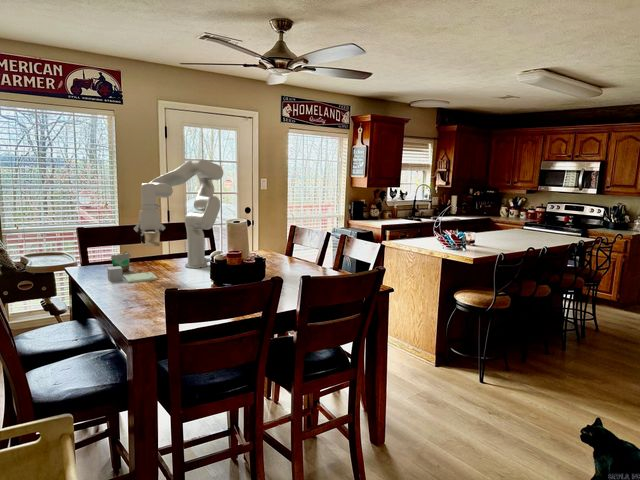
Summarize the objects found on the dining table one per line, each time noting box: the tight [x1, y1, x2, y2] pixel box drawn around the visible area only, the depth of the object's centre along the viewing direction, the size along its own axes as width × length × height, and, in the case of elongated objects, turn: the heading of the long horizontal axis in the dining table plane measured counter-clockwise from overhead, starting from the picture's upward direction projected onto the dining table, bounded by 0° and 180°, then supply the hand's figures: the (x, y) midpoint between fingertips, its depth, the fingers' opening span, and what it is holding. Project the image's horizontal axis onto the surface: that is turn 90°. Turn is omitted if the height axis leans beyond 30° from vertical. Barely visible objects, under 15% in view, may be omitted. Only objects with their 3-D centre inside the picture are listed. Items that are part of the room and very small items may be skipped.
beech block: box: [140, 231, 161, 248], centre depth 225 cm, size 6×12×6 cm, turn 35°
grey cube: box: [106, 266, 124, 282], centre depth 223 cm, size 6×6×6 cm
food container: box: [110, 250, 131, 273], centre depth 240 cm, size 12×6×10 cm, turn 168°
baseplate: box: [123, 271, 158, 284], centre depth 226 cm, size 14×14×1 cm
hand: (150, 242), depth 226 cm, fingers closed on beech block, 6 cm apart
